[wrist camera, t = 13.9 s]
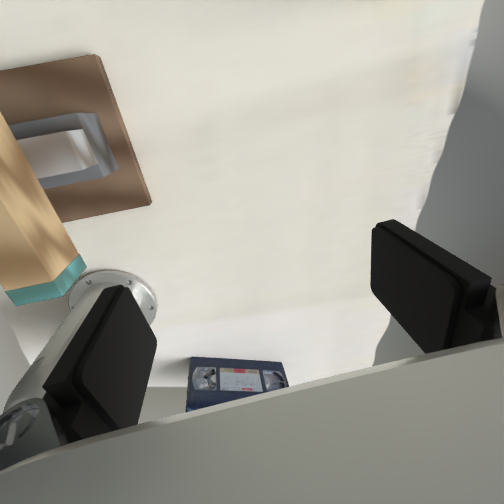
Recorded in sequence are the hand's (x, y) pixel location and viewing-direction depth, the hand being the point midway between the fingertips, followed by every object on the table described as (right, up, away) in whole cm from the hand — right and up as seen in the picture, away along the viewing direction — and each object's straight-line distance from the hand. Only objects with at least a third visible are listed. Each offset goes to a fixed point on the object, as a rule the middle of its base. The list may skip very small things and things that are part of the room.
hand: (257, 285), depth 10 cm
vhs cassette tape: (-3, -21, +42) cm, 47 cm away
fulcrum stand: (-23, +13, +21) cm, 34 cm away
